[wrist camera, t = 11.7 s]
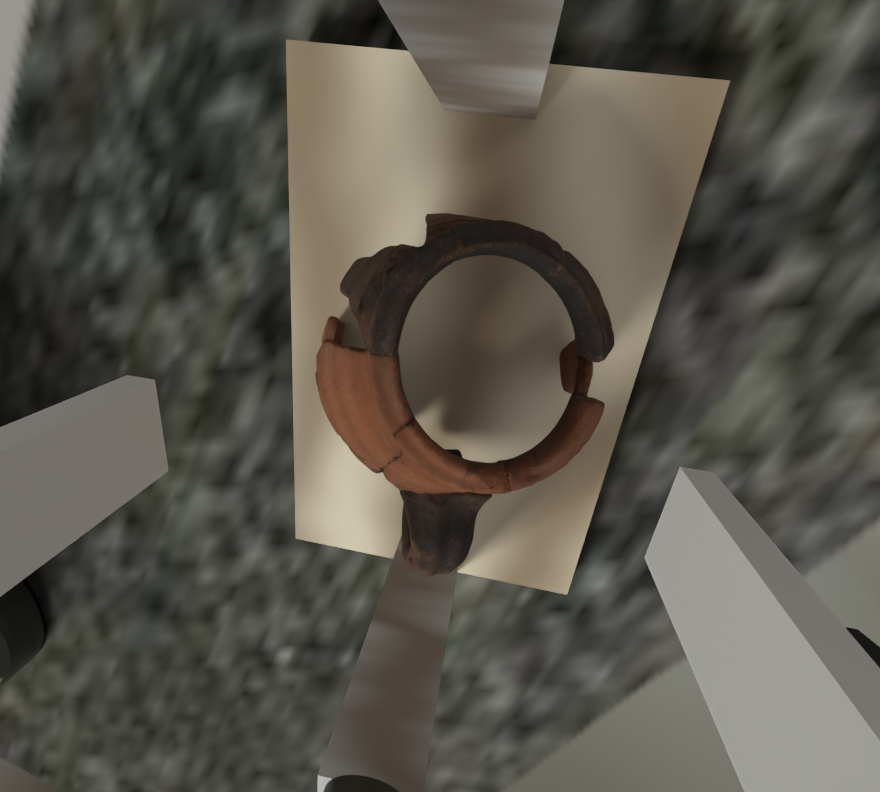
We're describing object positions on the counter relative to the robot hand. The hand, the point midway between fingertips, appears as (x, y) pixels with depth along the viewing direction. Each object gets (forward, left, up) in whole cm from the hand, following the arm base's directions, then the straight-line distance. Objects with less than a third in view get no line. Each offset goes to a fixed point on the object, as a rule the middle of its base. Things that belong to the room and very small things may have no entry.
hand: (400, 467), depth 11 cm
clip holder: (0, 0, -9) cm, 9 cm away
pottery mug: (0, 0, -8) cm, 8 cm away
